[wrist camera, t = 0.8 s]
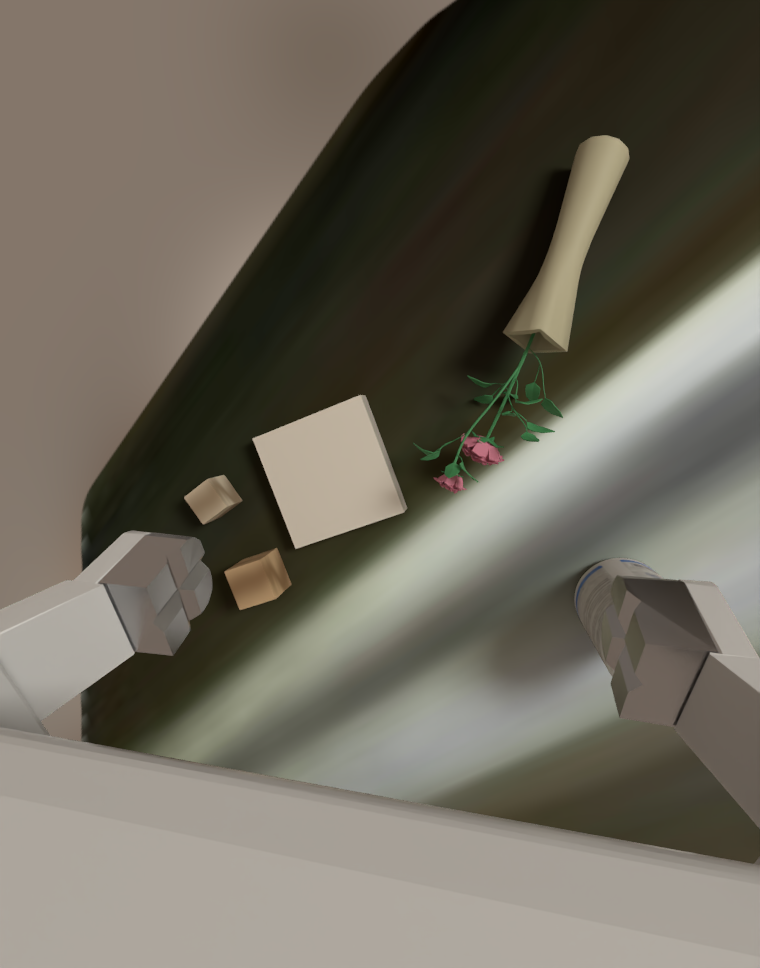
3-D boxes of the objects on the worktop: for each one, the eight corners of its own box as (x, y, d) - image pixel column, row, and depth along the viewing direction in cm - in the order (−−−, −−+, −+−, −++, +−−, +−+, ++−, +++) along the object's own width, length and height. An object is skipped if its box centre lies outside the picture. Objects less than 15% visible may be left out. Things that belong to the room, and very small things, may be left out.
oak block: (291, 583, 61) (276, 598, 57) (258, 594, 63) (239, 610, 58) (277, 547, 61) (260, 559, 56) (243, 559, 62) (224, 571, 57)
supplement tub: (591, 647, 55) (632, 730, 41) (559, 573, 55) (588, 630, 40) (679, 619, 53) (755, 696, 39) (646, 541, 52) (710, 590, 38)
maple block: (242, 500, 61) (226, 506, 57) (220, 517, 62) (203, 524, 58) (224, 474, 61) (207, 479, 57) (202, 492, 62) (183, 497, 58)
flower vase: (600, 227, 56) (496, 513, 55) (506, 179, 53) (397, 476, 53) (680, 165, 44) (550, 526, 43) (565, 100, 42) (426, 479, 41)
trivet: (407, 507, 57) (404, 512, 55) (302, 543, 60) (295, 548, 58) (365, 395, 56) (360, 394, 54) (261, 437, 59) (252, 438, 57)
